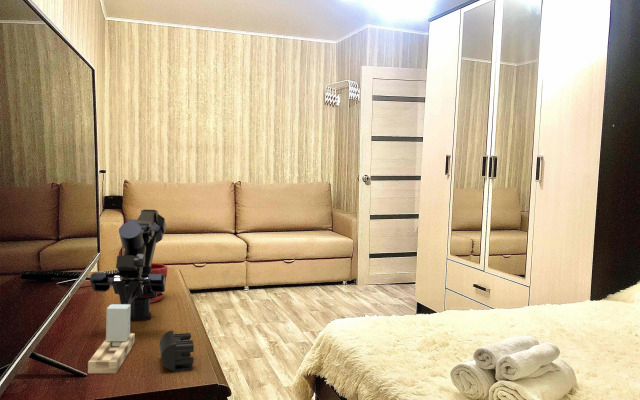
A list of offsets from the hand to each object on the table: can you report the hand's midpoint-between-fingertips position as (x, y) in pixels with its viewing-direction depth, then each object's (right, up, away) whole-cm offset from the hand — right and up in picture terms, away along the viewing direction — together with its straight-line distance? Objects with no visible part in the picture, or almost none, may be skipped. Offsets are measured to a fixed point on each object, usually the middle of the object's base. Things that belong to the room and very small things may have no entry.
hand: (123, 310), depth 137 cm
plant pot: (-8, -6, +44) cm, 45 cm away
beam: (+1, -9, -9) cm, 13 cm away
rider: (0, -7, -5) cm, 9 cm away
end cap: (+17, -10, -12) cm, 23 cm away
